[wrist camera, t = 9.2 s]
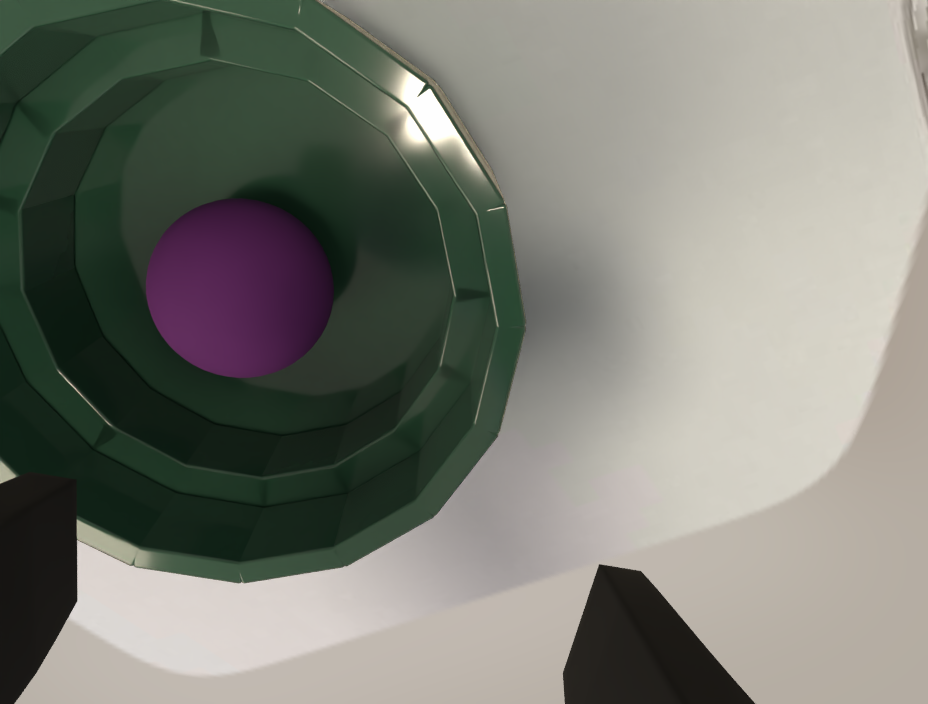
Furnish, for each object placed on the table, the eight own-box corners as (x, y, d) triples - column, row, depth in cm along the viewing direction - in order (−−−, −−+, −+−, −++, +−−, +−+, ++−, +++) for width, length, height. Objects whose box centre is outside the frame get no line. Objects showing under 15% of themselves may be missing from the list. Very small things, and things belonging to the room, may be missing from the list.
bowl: (454, 496, 20) (453, 617, 16) (35, 425, 19) (-97, 532, 15) (555, 65, 16) (596, 58, 11) (22, -56, 15) (-171, -117, 10)
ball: (333, 353, 18) (305, 422, 14) (180, 326, 18) (110, 390, 14) (355, 204, 17) (330, 238, 13) (189, 171, 16) (114, 196, 13)
